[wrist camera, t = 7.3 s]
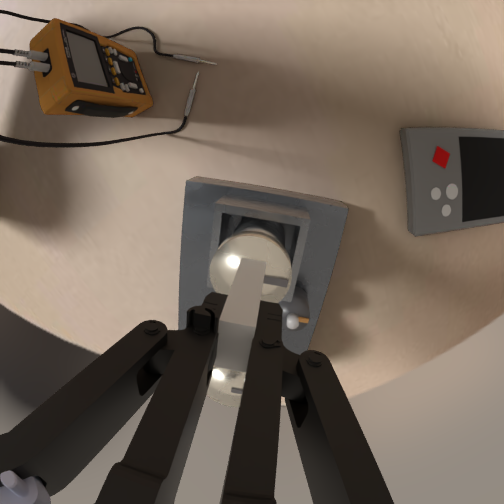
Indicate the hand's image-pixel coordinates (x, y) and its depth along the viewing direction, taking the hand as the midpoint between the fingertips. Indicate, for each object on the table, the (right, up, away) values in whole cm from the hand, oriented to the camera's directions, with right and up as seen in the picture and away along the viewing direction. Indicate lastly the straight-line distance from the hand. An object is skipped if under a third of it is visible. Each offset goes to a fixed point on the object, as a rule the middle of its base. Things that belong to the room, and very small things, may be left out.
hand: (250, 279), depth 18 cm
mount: (0, -1, +12) cm, 12 cm away
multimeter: (-9, +20, +5) cm, 22 cm away
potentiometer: (+4, -3, +9) cm, 10 cm away
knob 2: (+1, +3, +7) cm, 8 cm away
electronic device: (+22, +10, +6) cm, 25 cm away
